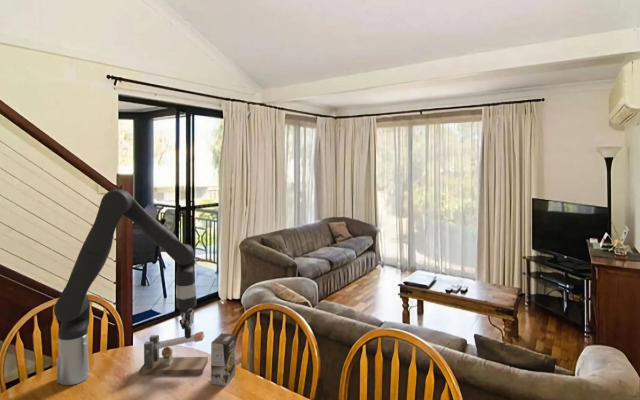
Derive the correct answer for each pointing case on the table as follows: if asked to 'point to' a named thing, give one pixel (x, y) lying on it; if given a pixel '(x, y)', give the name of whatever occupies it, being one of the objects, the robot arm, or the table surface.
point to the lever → (179, 341)
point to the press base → (177, 366)
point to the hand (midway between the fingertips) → (188, 336)
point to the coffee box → (223, 359)
